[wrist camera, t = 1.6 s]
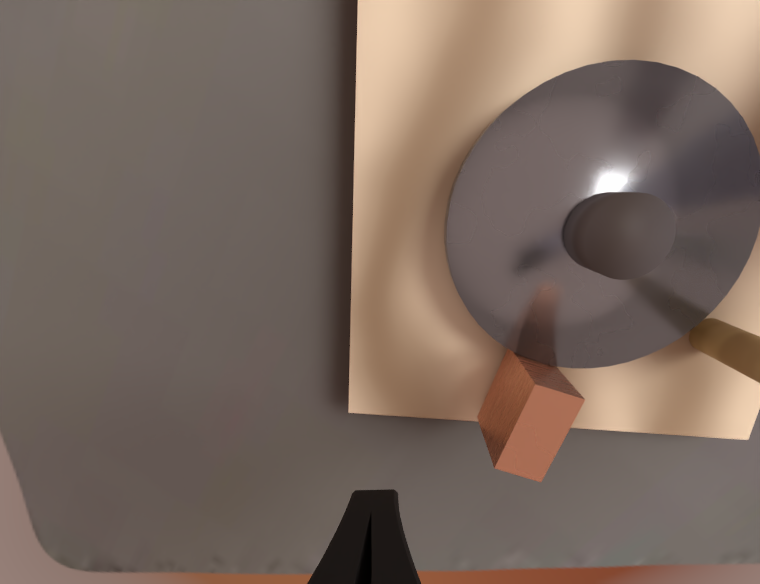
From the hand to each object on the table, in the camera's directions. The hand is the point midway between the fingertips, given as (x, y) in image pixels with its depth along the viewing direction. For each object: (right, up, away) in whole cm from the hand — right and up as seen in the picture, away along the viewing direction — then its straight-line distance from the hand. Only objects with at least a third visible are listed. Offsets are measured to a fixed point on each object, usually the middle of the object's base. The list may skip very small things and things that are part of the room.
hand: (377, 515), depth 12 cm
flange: (+8, +8, +5) cm, 12 cm away
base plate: (+9, +10, +6) cm, 15 cm away
